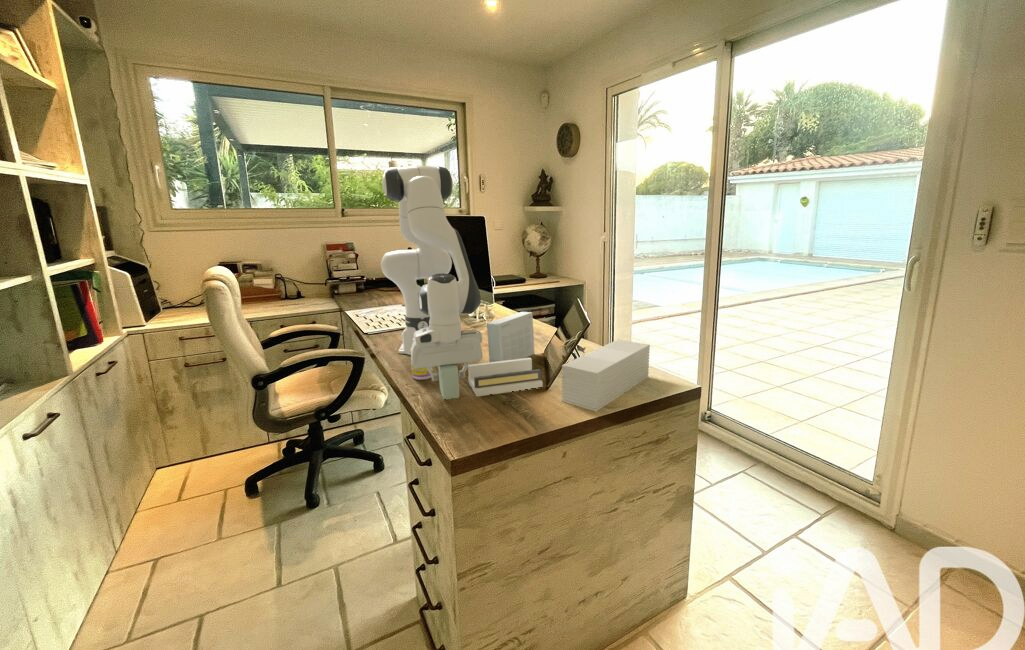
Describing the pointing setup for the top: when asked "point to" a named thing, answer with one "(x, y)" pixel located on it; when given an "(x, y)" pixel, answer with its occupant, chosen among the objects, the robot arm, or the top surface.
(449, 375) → the product box
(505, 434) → the top surface
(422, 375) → the supplement bottle
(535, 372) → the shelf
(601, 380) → the stack of papers
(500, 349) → the skincare box
